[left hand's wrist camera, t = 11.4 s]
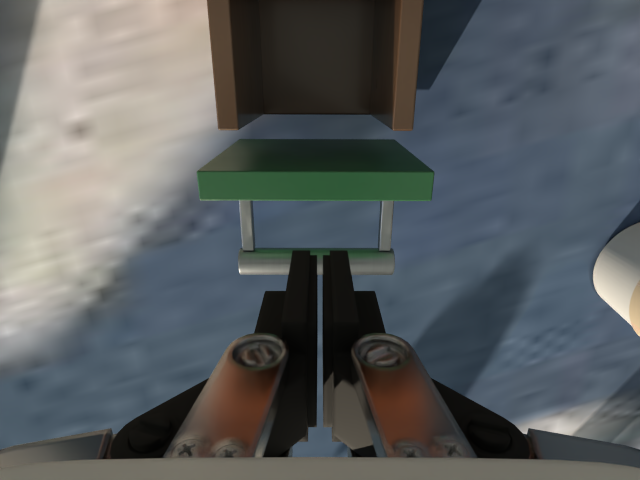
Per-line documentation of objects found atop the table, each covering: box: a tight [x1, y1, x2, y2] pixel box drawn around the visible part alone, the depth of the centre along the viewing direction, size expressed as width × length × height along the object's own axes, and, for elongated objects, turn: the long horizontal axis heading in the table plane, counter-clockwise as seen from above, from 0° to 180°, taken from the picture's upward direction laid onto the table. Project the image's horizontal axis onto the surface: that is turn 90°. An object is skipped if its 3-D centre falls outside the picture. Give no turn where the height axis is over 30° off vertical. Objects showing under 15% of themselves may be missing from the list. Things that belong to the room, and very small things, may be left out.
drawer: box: [197, 0, 434, 275], centre depth 18 cm, size 22×9×9 cm, turn 0°
